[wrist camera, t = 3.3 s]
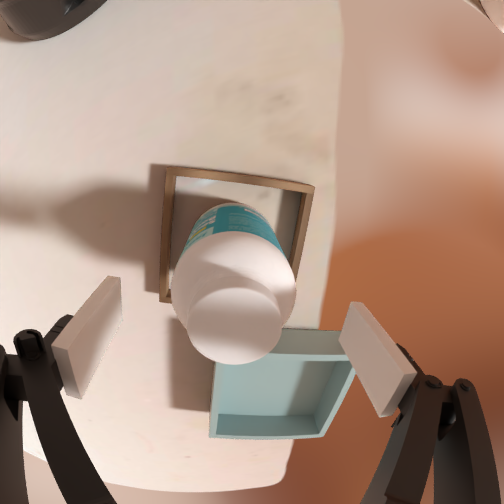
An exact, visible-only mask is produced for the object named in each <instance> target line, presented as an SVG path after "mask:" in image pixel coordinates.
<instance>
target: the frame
mask: <svg viewBox="0 0 504 504" xmlns="http://www.w3.org/2000/svg"><path fill="white" fill-rule="evenodd" d="M176 176H184V177H194V178H204V179H212V180H221V181H229V182H237V183H245V184H252V185H259V186H266V187H273V188H280V189H286V190H292V191H298V192H302V196H301V202H300V207H299V213H298V218H297V223H296V229H295V234H294V239H293V244H292V249H291V254H290V259H289V265H290V267H291V269H292V272H293V275H294V279H295V282H296V278H297V274H298V269H299V264H300V260H301V255H302V250H303V246H304V241H305V236H306V231H307V226H308V221H309V216H310V211H311V206H312V201H313V195H314V190H315V187H314V186H312V185H308V184H302V183H296V182H291V181H284V180H278V179H272V178H265V177H258V176H251V175H244V174H236V173H228V172H220V171H211V170H202V169H193V168H182V167H171V166H170V167H167V171H166V181H165V192H164V204H163V217H162V233H161V253H160V290H159V302H164V303H171V304H172V300H171V290H169V264H170V245H171V229H172V216H173V204H174V193H175V183H176Z"/></svg>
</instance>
